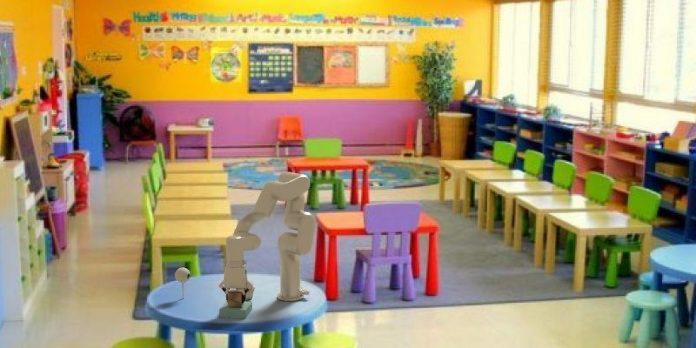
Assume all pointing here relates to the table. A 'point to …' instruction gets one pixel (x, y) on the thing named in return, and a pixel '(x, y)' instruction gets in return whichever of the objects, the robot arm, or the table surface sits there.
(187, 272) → the lollipop
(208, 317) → the table surface
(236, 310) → the base block
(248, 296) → the cupcake
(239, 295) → the walnut cube
